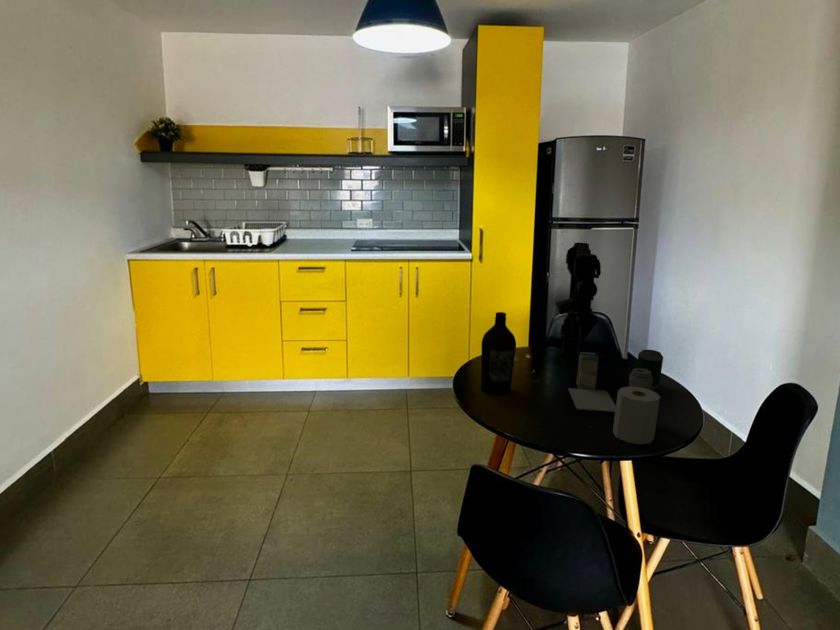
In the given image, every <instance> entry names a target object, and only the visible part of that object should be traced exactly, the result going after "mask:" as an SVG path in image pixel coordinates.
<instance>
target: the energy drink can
mask: <svg viewBox="0 0 840 630" xmlns="http://www.w3.org/2000/svg"><path fill="white" fill-rule="evenodd" d="M628 378H629V379H628V384H627V387H631V386H632V387H640V388H645V389H648V390H651V388H652V381H653V377H652V375H651V371H650V370H647V369H644V368H637V367H635V368H632V371H631V372H630V374H629V377H628ZM651 391H652V390H651Z"/></svg>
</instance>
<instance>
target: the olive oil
mask: <svg viewBox="0 0 840 630" xmlns="http://www.w3.org/2000/svg"><path fill="white" fill-rule="evenodd" d="M516 348H517V340H516V337H515V335H514V334H513V332H512V331H511V330H510V329H509V328H508V327H507V313H506V312H503V311H499V312H497V311H496V312H495V318H494V325H493V326H492V327H491V328H489V329H488V330H487V331H486V332H485V333H484V334H483V336H482V339H481V364H480V365H481V366H480V368H481V370H480V371H481V373H480V390H481V392H483V393H486V394H488V395H494V396H503V395H507V394H509V393H511V389H512V382H513V381H512V380H513V371H514V364H515V363H514V362H515V357H516V350H517V349H516Z"/></svg>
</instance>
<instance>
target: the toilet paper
mask: <svg viewBox="0 0 840 630" xmlns="http://www.w3.org/2000/svg"><path fill="white" fill-rule="evenodd" d="M660 400H661V396H660V395H659V394H658V393H657V392H656V391H655V390H648V389H645V388H640V387H632V386H631V387H628V386H624V387H621V388H619V389H618V390H617V395H616V402H615V403H616V404H615V405H616V410H615V412H614V419H613V428H612V433H613V435H614V437H616V439H619V440H622V441H623V442H626V443H629V444H635V445H647V444H651V443H652V442H653V441H654V439H655V435H656V434H655V433H656V428H657V427H656V426H657V420H658V415H659V414H658V413H659V408H660V407H659V406H660V402H661V401H660Z"/></svg>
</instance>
